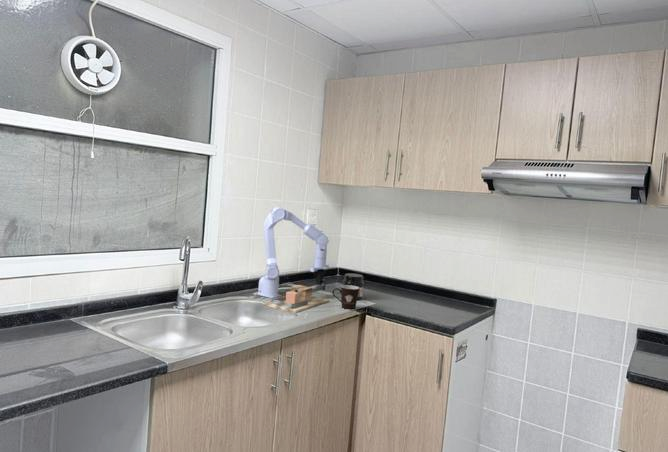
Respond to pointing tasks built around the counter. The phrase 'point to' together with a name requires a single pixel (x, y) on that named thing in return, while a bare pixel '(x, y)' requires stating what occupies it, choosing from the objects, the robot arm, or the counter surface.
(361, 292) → the supplement container
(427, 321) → the counter surface
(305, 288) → the stand
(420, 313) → the counter surface
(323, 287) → the shaft
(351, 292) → the coffee mug
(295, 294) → the block
